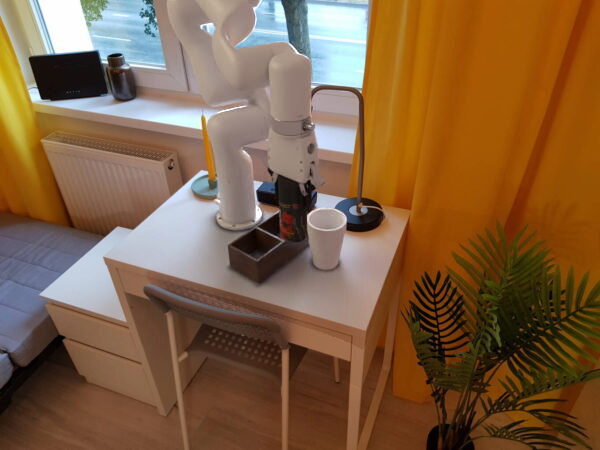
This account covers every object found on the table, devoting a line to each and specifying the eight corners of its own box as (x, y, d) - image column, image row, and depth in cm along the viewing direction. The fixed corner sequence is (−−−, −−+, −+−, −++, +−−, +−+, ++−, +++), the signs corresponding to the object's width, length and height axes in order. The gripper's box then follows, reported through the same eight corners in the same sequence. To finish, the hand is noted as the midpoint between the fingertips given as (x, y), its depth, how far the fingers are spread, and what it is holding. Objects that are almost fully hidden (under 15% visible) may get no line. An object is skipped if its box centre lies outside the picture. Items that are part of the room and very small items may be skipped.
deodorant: (312, 236, 107) (312, 177, 98) (289, 246, 104) (287, 185, 95) (298, 223, 111) (297, 165, 102) (275, 231, 108) (272, 173, 99)
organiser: (230, 267, 120) (227, 245, 116) (280, 230, 132) (279, 209, 128) (259, 284, 115) (257, 261, 111) (309, 245, 127) (309, 223, 123)
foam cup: (301, 254, 124) (300, 212, 116) (334, 246, 127) (336, 204, 119) (315, 278, 117) (316, 234, 109) (350, 268, 119) (353, 225, 112)
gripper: (340, 128, 90) (337, 209, 100) (270, 105, 99) (274, 182, 109) (315, 142, 85) (314, 226, 96) (244, 117, 94) (250, 196, 105)
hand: (293, 201), depth 102 cm, fingers closed on deodorant, 6 cm apart
